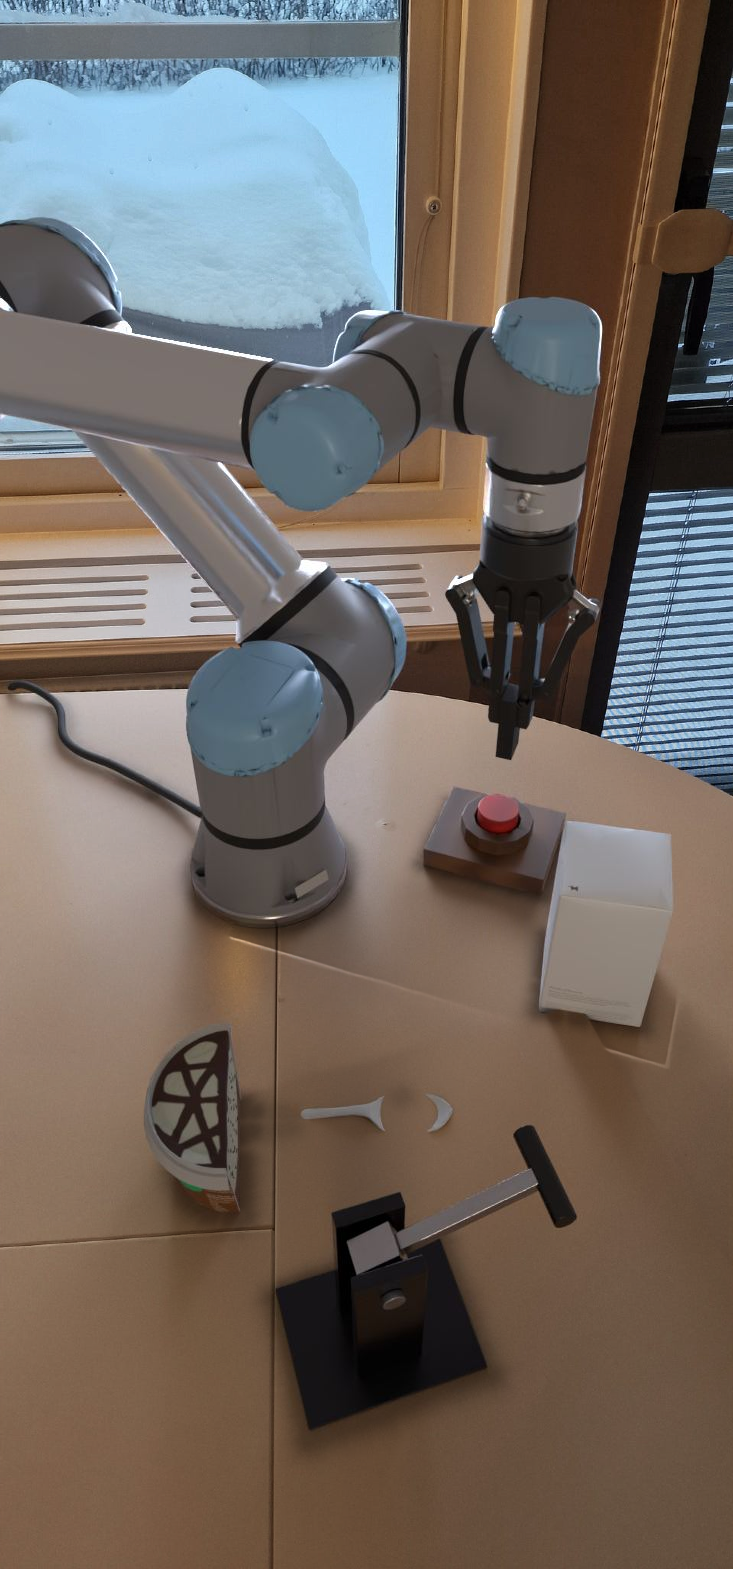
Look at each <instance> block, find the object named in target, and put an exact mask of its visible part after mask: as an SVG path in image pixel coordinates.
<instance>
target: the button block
mask: <svg viewBox="0 0 733 1569" xmlns="http://www.w3.org/2000/svg"><path fill="white" fill-rule="evenodd" d="M494 794H495V793H493V794H492V795H494ZM489 795H490V794H488V793H484V792H483V793H482V792H481V791H480V792H479V791H476V790H470V789H467V788H463V787H458V786H452V788H451V791H450V792H449V794H448V797H447V799H446V801H445V803H444V805H443V807H442V809H441V812H440V814H439V816H438V818H437V820H436V822H435V823H434V824H435V825H434V827H433V828H432V831H431V833H430V835H429V837H428V839H427V842H426V844H425V846H424V847H423V856H422V865H424V866H427V867H431V868H435V869H439V870H443V871H446V872H451V873H454V874H456V875H457V874H458V875H461V876H465V877H469V878H472V879H477V880H480V881H484V882H489V883H492V884H496V885H499V886H504V887H507V888H511V889H515V890H518V891H523V892H527V893H530V894H534V895H538V896H542V894H543V891H544V888H545V885H546V882H547V879H548V878H549V877H548V876H549V873H550V870H551V867H552V864H553V861H554V858H555V856H556V852H557V849H558V847H559V844H560V842H561V841H560V840H561V839H562V834H563V829H564V824H565V821H566V816H567V812H563V811H559V810H554V809H551V808H546V807H544V806H543V807H542V806H539V805H538V806H537V805H534V804H529V803H525V802H521V801H520V800H518V798H516V797H513V796H509V795H507V796H508V797H510V798H512V799H513V800H515V801H516V803H517V804H518V806H519V815H518V823H517V826H516V827H515V829H514V830H512V831H511V832H508V833H503V834H494V833H490V832H487V831H485V830H484V829H482V828H481V827H480V825H479V824H478V821H477V815H478V805H479V803H480V801H481V800H482V799H483V798H484V797H486V796H489Z"/></svg>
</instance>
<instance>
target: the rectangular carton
mask: <svg viewBox="0 0 733 1569" xmlns="http://www.w3.org/2000/svg"><path fill="white" fill-rule="evenodd" d="M560 840H561V841H560V846H559V853H558V858H557V865H556V871H555V876H554V881H553V882H554V883H553V889H552V894H551V901H550V905H549V906H550V907H549V913H548V918H547V919H548V920H547V924H546V930H545V937H544V946H543V956H542V966H541V967H542V968H541V978H540V988H539V997H538V998H539V999H538V1011H539V1012H541V1013H548V1012H551V1011H556V1010H562V1011H567V1012H573V1013H579V1014H585V1015H586V1017H587V1019H588V1020H592V1021H597V1022H598V1021H599V1022H605V1023H609V1024H617V1025H624V1026H631V1027H635V1028H636V1027H637V1028H640V1027H641V1026H642V1022H643V1019H644V1015H645V1012H646V1008H647V1004H648V1001H649V997H650V994H651V990H652V988H653V984H654V980H655V978H656V973H657V969H658V966H659V964H660V959H661V955H662V952H663V949H664V946H665V943H666V938H667V935H668V932H669V929H670V925H671V921H672V918H673V914H674V886H673V882H674V881H673V856H672V854H673V852H672V835H671V833H664V832H660V831H659V832H658V831H653V830H652V831H651V830H643V829H636V828H635V829H634V828H627V827H618V826H611V825H605V824H598V823H591V822H583V821H577V820H565V823H564V829H563V832H562V835H561V839H560Z"/></svg>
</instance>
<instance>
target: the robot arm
mask: <svg viewBox="0 0 733 1569" xmlns="http://www.w3.org/2000/svg"><path fill="white" fill-rule="evenodd" d="M117 282H118V277H117V275H116V274H115V271H114V268H113V267H112V265H111V263H110V262H109V260H108V259H107V257H106V255H105V254H104V253H103V251H102V250H101V249H100V248H99V246H98V245H97V244H96V243H95V242H94V241H93V240H92V239H91V238H90V237H89V236H88V235H87V234H85V233H84V232H82V231H81V230H80V229H78V228H76V227H75V226H73V225H71V224H69V223H67V222H65V221H63V220H60V219H57V218H52V217H45V216H38V217H37V216H35V217H28V218H25V219H11V220H6V221H4V222H1V223H0V421H1V420H2V419H4V418H6V417H11V418H16V419H22V420H25V421H30V422H34V423H38V424H42V425H43V424H44V425H47V426H52V427H57V428H61V429H65V430H71V431H72V432H73V433H74V434H75V435H76V436H77V438H79V440H80V441H81V442H82V443H83V444H84V445H85V446H86V448H87V449H88V450H89V451H90V452H91V454H92V455H93V457H95V458H96V459H97V461H98V462H100V464H101V465H102V467H104V468H105V469H106V471H107V472H108V473H109V474H110V475H111V477H112V478H113V479H114V480H115V481H116V482H117V483H118V485H119V486H120V487H121V488H122V489H123V490H124V492H125V493H126V494H127V495H128V496H129V498H131V499H132V501H133V502H134V503H135V504H136V505H137V506H138V507H139V509H141V511H142V512H143V514H144V515H145V516H146V517H147V518H148V519H149V520H150V521H151V522H152V523H153V525H154V526H155V527H156V528H157V529H158V531H160V533H161V534H162V535H163V537H165V539H166V540H167V541H168V542H169V543H170V545H171V546H173V548H174V549H175V551H177V552H178V553H179V554H180V556H181V557H182V558H183V559H184V560H185V562H186V563H187V564H188V565H189V566H190V567H191V568H192V569H193V571H194V572H195V573H196V574H197V575H198V576H199V578H200V579H201V580H202V581H203V582H204V583H205V584H206V585H207V587H208V588H209V590H211V591H212V593H213V594H214V595H215V596H216V597H217V598H218V599H219V601H220V602H221V603H222V604H223V605H224V606H225V608H227V610H228V611H229V612H230V613H231V614H232V615H233V617H234V619H235V622H236V628H235V643H236V644H237V645H238V647H239V648H235V647H233V646H229V647H227V648H224V649H222V650H221V651H219V652H218V653H216V654H214V655H213V656H211V657H210V658H209V659H208V660H207V661H205V662H204V663H203V664H202V665H201V667H199V669H197V671H196V673H195V674H194V675H193V677H192V680H191V681H190V683H189V686H188V689H187V692H186V697H185V698H186V699H185V708H186V717H185V718H186V720H185V731H186V738H187V743H188V744H189V747H190V748H189V749H190V754H191V760H192V765H193V766H192V767H193V772H194V778H195V784H196V790H197V796H198V803H199V806H198V805H196V803H194V802H191V801H189V800H188V799H186V798H184V797H183V796H181V795H179V794H177V793H176V792H174V791H172V790H170V789H168V788H166V787H164V786H163V785H161V784H159V783H158V782H155V781H153V780H152V779H150V778H149V777H147V776H144V775H143V774H141V773H139V772H137V771H136V770H134V769H131V768H129V767H127V766H126V765H123V764H122V763H120V762H118V761H115V760H113V759H111V758H108V757H105V756H104V755H103V756H102V755H100V754H97V753H95V752H92V751H90V750H88V749H85V748H83V747H81V746H79V745H77V744H76V743H75V742H74V741H73V740H72V739H71V738H70V737H69V735H68V732H67V726H66V724H67V723H66V711H65V708H64V705H63V704H62V702H61V701H59V699H58V698H56V697H55V695H53V694H52V693H50V692H49V691H48V690H46V689H45V688H42V687H41V686H39V685H37V684H35V683H33V682H30V681H26V680H14V681H11V682H10V683H9V684H8V685H7V690H8V691H12V692H13V691H16V690H18V689H22V690H25V691H29V692H31V693H33V694H35V695H37V696H39V697H41V698H42V699H44V700H45V701H46V702H47V703H49V704H50V705H51V706H52V707H53V709H54V710H55V714H56V725H57V726H56V728H57V729H56V730H57V735H58V738H59V740H60V741H61V743H62V744H63V745H64V746H65V748H67V749H68V751H70V752H71V753H73V754H74V755H76V756H78V757H80V758H82V759H83V760H86V761H88V762H89V761H90V762H92V763H95V764H97V765H100V766H103V767H105V768H108V769H110V770H112V771H115V772H116V773H118V774H120V775H122V776H124V777H126V778H128V779H130V780H132V781H133V782H135V783H137V784H139V785H141V786H143V787H144V788H146V789H148V790H150V791H151V792H153V793H156V794H157V795H159V796H160V797H162V798H164V799H166V800H168V801H170V802H171V803H173V804H175V805H176V806H178V807H180V808H182V809H184V810H186V811H187V812H189V813H190V814H192V815H194V816H196V817H197V818H199V819H200V822H199V825H198V828H197V831H196V836H195V839H194V843H193V847H192V850H191V855H190V861H189V862H190V863H189V868H190V876H191V882H192V886H193V890H194V892H195V894H196V896H197V898H198V900H199V901H200V902H201V903H202V905H203V906H204V907H205V908H206V909H207V910H208V911H210V913H212V914H214V915H215V916H216V917H218V918H221V919H222V920H224V921H227V922H229V923H231V924H234V925H238V926H243V927H249V928H261V929H262V928H263V929H264V928H265V929H267V928H279V927H283V926H289V925H292V924H296V923H299V922H302V921H305V920H307V919H309V918H311V917H313V916H315V915H317V914H318V913H320V912H321V911H322V910H324V909H325V908H326V907H327V906H329V905H330V904H331V903H332V901H333V900H335V898H336V897H337V896H338V894H339V893H340V892H341V889H342V888H343V886H344V883H345V880H346V876H347V866H348V865H347V849H346V845H345V843H344V839H343V837H342V835H341V833H340V832H339V830H338V829H337V826H336V824H335V822H334V819H333V817H332V814H330V810H329V809H328V807H327V805H326V787H325V768H326V765H327V763H328V761H329V759H330V758H331V757H332V756H333V755H334V753H335V752H336V751H337V750H338V748H340V746H341V745H342V743H344V742H345V741H346V740H347V739H348V738H349V736H350V735H351V734H352V732H353V731H354V730H355V729H356V727H357V726H358V725H359V724H360V723H361V721H363V719H364V718H365V717H366V716H367V715H368V713H370V712H371V710H372V709H373V708H374V707H375V705H376V704H378V703H379V702H380V701H382V700H383V699H384V698H385V697H386V696H387V694H388V693H389V691H390V690H391V688H392V686H393V684H394V682H395V681H396V679H397V678H398V677H399V675H400V673H401V671H402V670H403V667H404V664H405V662H406V657H407V634H406V630H405V626H404V623H403V620H402V618H401V615H400V613H399V612H398V610H397V609H396V607H395V605H394V604H393V602H392V600H390V599H389V597H388V596H387V595H386V594H385V593H384V592H382V590H380V589H379V588H378V587H376V586H375V585H373V584H372V583H369V582H364V583H363V582H361V580H360V579H359V578H355V577H343V578H340V576H339V575H338V574H337V573H336V572H335V571H334V570H333V568H332V567H331V566H330V565H329V563H327V562H326V561H317V560H308V559H306V558H303V556H301V555H300V554H299V553H298V551H297V550H296V548H294V546H293V545H292V544H291V543H290V541H289V540H288V539H287V538H286V537H285V535H284V534H283V533H282V532H281V531H280V529H279V528H278V527H277V526H276V525H275V524H274V523H273V521H272V520H271V519H270V517H269V516H267V514H266V513H265V512H264V510H262V508H261V507H260V506H259V505H258V504H257V502H256V501H255V500H254V499H253V497H252V496H251V494H249V493H248V492H247V490H246V489H245V488H244V487H243V486H242V484H241V483H240V482H239V481H238V480H237V479H236V477H235V476H234V475H233V474H232V472H231V471H230V470H229V469H228V467H226V465H227V466H231V467H235V468H240V469H244V470H249V471H253V472H255V474H256V476H257V478H258V479H259V481H260V482H261V484H262V486H263V487H264V488H265V489H266V490H267V491H268V493H269V494H272V495H274V496H276V498H277V499H279V500H280V501H281V502H283V504H284V505H285V506H287V507H289V508H291V509H294V510H297V511H301V512H319V511H323V510H327V509H329V508H331V507H333V506H335V505H337V504H338V503H340V502H341V501H342V500H343V499H345V498H346V499H347V498H348V497H350V496H352V495H354V494H356V493H357V492H358V491H359V490H360V489H362V488H364V487H365V486H366V485H367V484H368V483H369V482H370V481H371V480H372V478H374V477H375V475H376V474H377V473H378V472H380V471H381V470H382V469H383V468H384V467H385V466H386V465H387V464H388V463H389V462H391V461H392V460H393V459H394V458H395V457H396V456H397V455H398V454H400V453H401V452H402V451H403V450H405V449H406V448H408V446H410V445H411V444H412V443H414V441H415V440H417V439H418V438H419V437H420V436H421V435H423V434H424V433H425V432H426V431H427V430H429V429H438V430H443V431H449V432H455V433H459V434H464V435H470V436H481V437H485V438H486V454H485V456H486V457H485V470H484V471H485V472H484V486H483V487H484V488H483V489H484V490H483V500H482V502H483V504H482V506H483V507H482V508H483V513H484V515H483V517H482V519H481V528H480V530H481V531H480V545H479V561H478V563H477V565H476V567H475V568H474V570H473V571H472V573H471V574H468V575H467V576H464V575H462V574H458V575H455V576H454V577H453V580H452V581H450V584H449V585H448V587H447V589H446V590H445V592H444V596H445V598H446V601H447V602H448V604H449V605H450V607H451V608H452V610H453V612H454V613H455V616H456V620H457V627H458V630H459V631H458V633H459V636H460V640H461V646H462V651H463V655H464V660H465V666H466V671H467V674H468V680H469V683H470V685H471V686H472V687H474V688H476V689H479V688H482V689H485V690H486V691H487V692H488V694H489V699H488V700H489V701H488V710H487V711H488V712H487V718H488V721H489V723H493V724H496V725H498V726H497V734H496V748H495V756H494V757H495V758H499V759H502V760H503V759H504V760H507V761H512V759H513V757H514V754H515V752H516V749H517V747H518V745H519V742H520V731H521V729H522V730H527V729H528V728H529V726H530V724H531V721H532V720H533V717H534V708H535V702H536V700H540V701H542V702H549V701H551V700H552V699H553V697H554V694H555V692H556V690H557V687H558V686H559V683H560V681H561V679H562V677H563V674H564V673H565V670H566V668H567V666H568V663H569V661H570V659H571V657H572V655H573V652H574V650H575V648H576V646H577V644H578V642H579V639H580V637H581V636H582V635H583V634H584V633H585V632H587V631H588V630H589V629H590V628H591V627H592V626H593V625H594V624H595V623H596V620H597V618H598V614H599V612H600V609H601V607H602V606H601V605H602V604H601V601H600V600H599V599H597V598H595V597H594V598H593V597H592V598H589V599H588V598H587V597H585V596H584V595H582V594H581V593H580V592H579V591H578V590H577V588H578V584H577V580H576V578H575V575H574V568H573V567H574V561H575V553H576V546H577V539H578V530H579V522H578V519H579V517H580V514H581V510H582V502H583V494H584V488H585V481H586V480H585V479H586V473H587V466H586V465H587V458H588V450H589V443H590V438H591V431H592V424H593V418H594V411H595V406H596V399H597V394H598V387H599V386H600V382H601V376H600V375H601V373H600V362H601V360H600V359H601V350H602V349H601V348H602V334H603V325H602V320H601V318H600V316H599V314H597V312H596V311H595V309H593V308H592V307H590V306H589V305H587V304H585V303H583V302H580V301H577V300H574V299H569V298H565V297H559V296H557V297H556V296H549V297H537V296H536V297H535V296H531V297H529V296H528V297H524V298H518V299H515V300H512V301H509V302H507V303H506V304H504V305H503V306H502V307H501V308H500V309H499V310H498V312H497V314H496V316H495V323H494V325H490V326H486V325H477V324H471V323H467V322H466V323H465V322H459V321H454V320H446V319H441V318H435V317H428V316H422V315H415V314H411V313H410V312H407V311H403V310H400V309H399V310H390V311H384V310H370V309H369V310H361V311H358V312H357V313H354V315H352V316H351V317H349V319H348V320H347V322H346V323H345V325H344V326H345V327H344V331H342V332H340V334H339V335H338V338H337V340H336V343H335V347H334V350H333V358H332V363H331V364H330V365H328V366H324V367H323V366H322V367H319V366H311V365H305V364H299V363H293V362H287V361H282V360H276V359H272V358H267V357H261V356H256V355H250V354H245V353H239V352H234V351H229V350H224V349H219V348H212V347H207V346H201V345H196V344H190V343H187V342H180V341H174V340H169V339H163V338H157V337H151V336H147V335H143V334H142V335H141V334H135V333H132V328H131V326H130V325H129V324H128V322H127V321H126V320H125V319H124V318H123V317H122V312H123V300H122V292H121V290H118V289H117V288H116V283H117ZM478 595H480V596H481V598H482V599H483V601H484V603H485V604H486V606H487V608H489V610H490V612H491V613H492V614H493V622H492V632H493V638H492V649H491V650H492V651H491V661H490V659H489V655H488V649H487V643H486V639H485V633H484V628H483V623H482V618H481V612H480V607H479V602H478V599H477V597H478ZM566 605H567V606H568V610H567V613H566V619H567V620H568V625H567V627H566V629H565V631H564V634H563V637H562V639H561V641H560V644H559V646H558V647H557V650H556V653H555V654H554V657H553V659H552V661H551V664H550V666H549V668H548V671H547V672H546V675H545V677H543V678H539V674H540V666H541V658H542V657H541V656H542V649H543V638H544V632H545V624H546V623H547V622H548V621H549V620H551V618H553V617H554V616H555V615H556V614H557V613H558V612H559V611H560V610H562V609H563V608H564V607H565V606H566ZM515 623H519V624H521V625H523V628H522V637H523V639H522V649H521V659H520V670H519V679H518V684H513V683H509V680H510V678H511V675H512V673H511V662H512V653H513V644H514V634H515V633H514V632H515ZM490 664H491V665H490Z"/></svg>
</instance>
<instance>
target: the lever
mask: <svg viewBox="0 0 733 1569" xmlns="http://www.w3.org/2000/svg"><path fill="white" fill-rule="evenodd" d="M536 1129H537V1128H535V1126H534V1125H533V1124H525V1125H522V1126H520V1127H519V1128H516V1130H515V1131H513V1133H512V1137H513V1139H514V1142H515V1144H516V1146H517V1148H518V1150H519V1153H520V1155H521V1157H522V1159H523V1161H524V1164H525V1165H526V1167H527V1169H526V1170H524V1171H522V1172H519V1173H517V1174H515V1175H513V1176H511V1177H508V1178H507V1179H504V1180H502V1181H501V1182H498V1183H497V1184H494V1185H492V1186H490V1187H488V1188H486V1189H484V1190H481V1191H480V1192H478V1193H475V1194H474V1195H471V1196H469V1197H467V1198H465V1199H463V1200H461V1201H459V1202H457V1203H455V1204H452V1205H450V1206H448V1207H446V1208H444V1209H442V1210H440V1211H438V1212H436V1213H434V1214H432V1215H430V1216H428V1217H426V1218H424V1219H421V1220H419V1221H417V1222H415V1223H412V1224H411V1225H409V1226H407V1227H405V1229H403V1230H400V1231H398V1232H397V1231H396V1230H395V1229H394V1227H393V1226H392V1225H391V1224H390V1223H389V1222H388V1221H387V1222H384V1223H382V1224H380V1225H378V1226H376V1227H374V1228H372V1229H370V1230H368V1231H366V1232H364V1233H362V1234H359V1235H357V1236H355V1237H353V1238H351V1239H349V1240H347V1245H348V1248H349V1251H350V1255H351V1258H352V1261H353V1265H354V1268H355V1271H356V1275H360V1274H363V1273H366V1272H369V1271H372V1270H375V1269H378V1268H382V1267H385V1266H388V1265H391V1264H394V1263H397V1262H400V1261H403V1260H406V1259H408V1257H407V1254H408V1253H410V1252H413V1251H415V1250H417V1249H419V1248H421V1247H423V1246H425V1245H427V1244H429V1243H431V1242H433V1241H435V1240H438V1239H440V1240H441V1239H442V1238H444V1237H446V1236H448V1235H450V1234H452V1233H454V1232H457V1231H458V1230H460V1229H462V1228H465V1227H466V1226H468V1225H470V1224H473V1223H475V1222H477V1221H479V1220H481V1219H483V1218H485V1217H488V1216H490V1215H492V1214H493V1213H496V1212H498V1211H500V1210H502V1209H504V1208H506V1207H508V1206H510V1205H512V1204H515V1203H516V1202H519V1201H521V1200H522V1199H525V1198H527V1197H529V1196H531V1195H534V1194H536V1193H537V1192H538V1194H539V1196H540V1198H541V1201H542V1202H543V1205H544V1207H545V1209H546V1211H547V1213H548V1215H549V1217H550V1220H551V1221H552V1224H553V1226H554V1227H555V1228H556V1229H562V1228H566V1227H568V1226H570V1225H572V1224H574V1222H575V1221H576V1220H577V1219H578V1215H577V1212H576V1211H575V1208H574V1207H573V1204H572V1202H571V1200H570V1198H569V1196H568V1193H567V1192H566V1190H565V1187H564V1186H563V1183H562V1181H561V1180H560V1177H559V1175H558V1173H557V1171H556V1169H555V1166H554V1165H553V1163H552V1161H551V1158H550V1156H549V1155H548V1152H547V1150H546V1148H545V1146H544V1144H543V1142H542V1140H541V1137H540V1136H539V1134H538V1132H537V1130H536Z"/></svg>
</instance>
